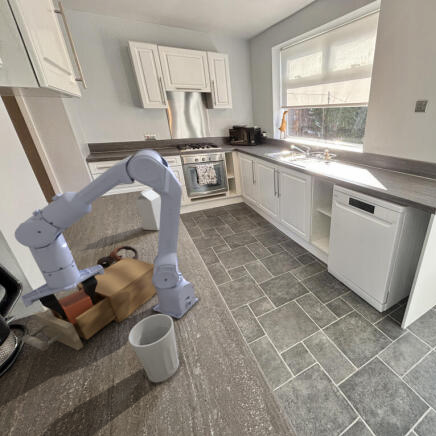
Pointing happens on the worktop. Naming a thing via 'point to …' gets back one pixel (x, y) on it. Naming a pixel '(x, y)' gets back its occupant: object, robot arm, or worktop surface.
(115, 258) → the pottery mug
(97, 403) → the worktop surface
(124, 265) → the cabinet
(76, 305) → the block
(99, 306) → the drawer
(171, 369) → the cup
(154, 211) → the milk carton
